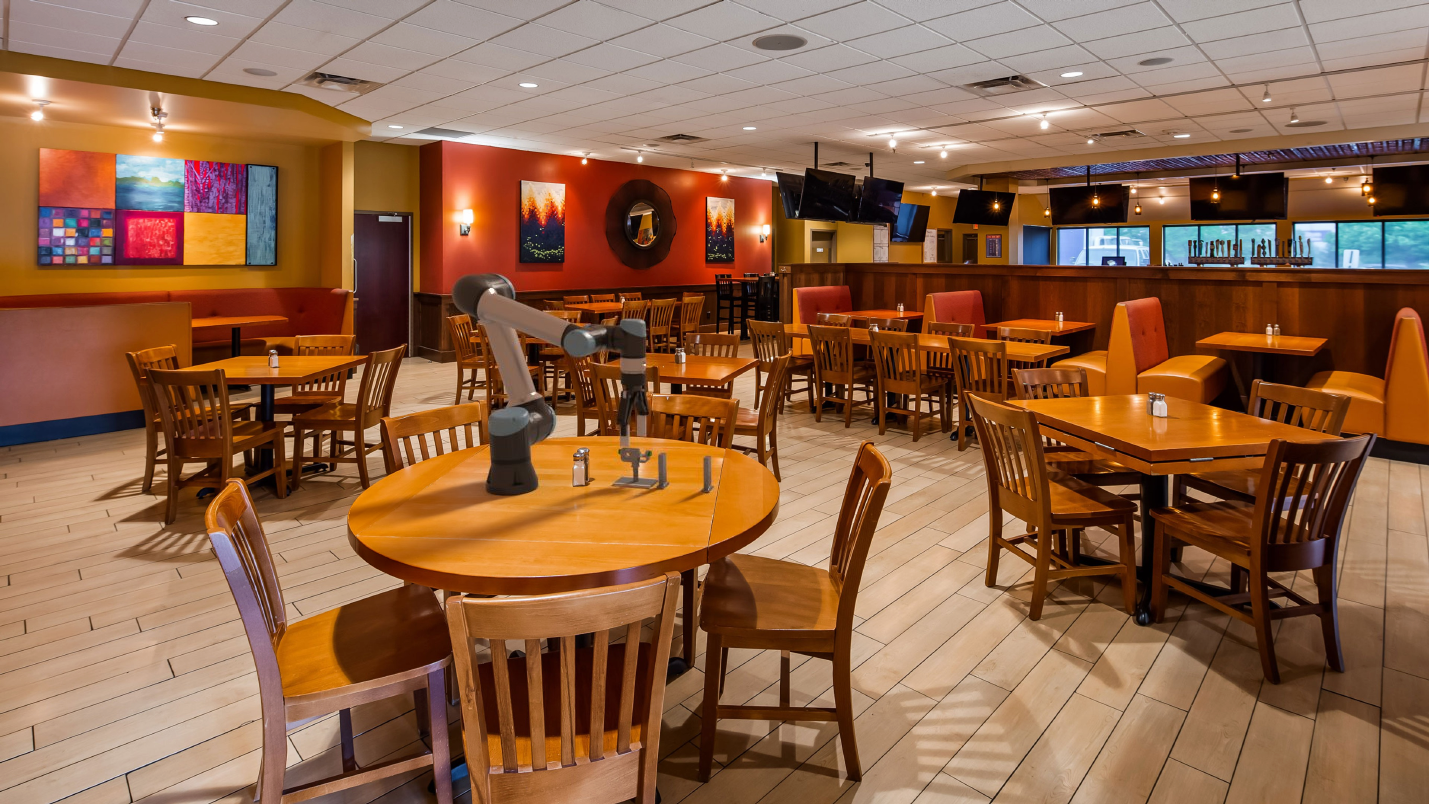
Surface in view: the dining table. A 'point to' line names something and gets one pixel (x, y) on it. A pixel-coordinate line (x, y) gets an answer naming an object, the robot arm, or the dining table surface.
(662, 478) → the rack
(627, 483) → the mat
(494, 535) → the dining table surface
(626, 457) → the mechanical component
